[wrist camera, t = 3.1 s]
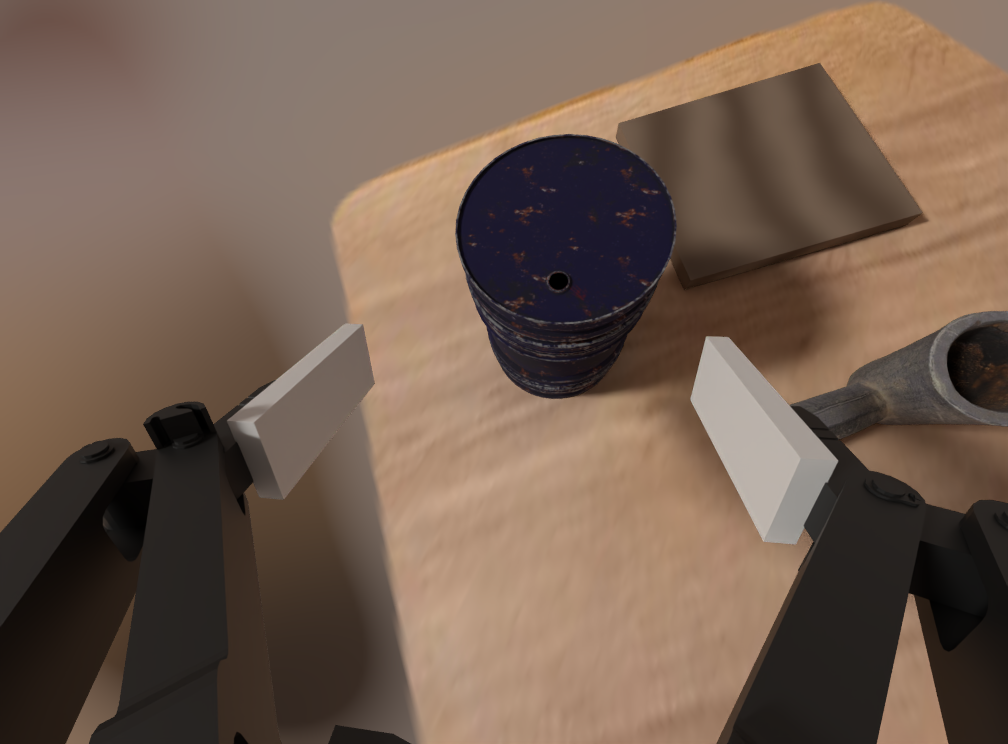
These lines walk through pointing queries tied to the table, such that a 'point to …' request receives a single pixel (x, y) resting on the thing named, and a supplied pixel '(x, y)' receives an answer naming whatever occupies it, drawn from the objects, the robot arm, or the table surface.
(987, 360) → the pipe
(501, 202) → the navy cylinder
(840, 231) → the walnut serving board
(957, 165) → the table surface
